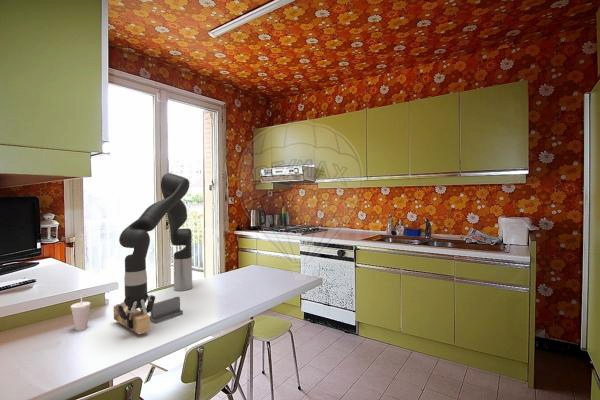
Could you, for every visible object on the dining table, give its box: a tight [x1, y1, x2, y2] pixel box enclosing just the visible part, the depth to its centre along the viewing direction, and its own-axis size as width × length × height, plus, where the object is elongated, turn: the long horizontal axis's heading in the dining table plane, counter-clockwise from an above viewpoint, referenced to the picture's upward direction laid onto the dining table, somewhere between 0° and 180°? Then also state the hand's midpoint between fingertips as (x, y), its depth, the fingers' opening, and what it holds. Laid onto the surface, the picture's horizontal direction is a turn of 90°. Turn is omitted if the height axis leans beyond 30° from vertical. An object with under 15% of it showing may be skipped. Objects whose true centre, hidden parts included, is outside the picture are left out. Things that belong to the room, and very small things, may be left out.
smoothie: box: [70, 293, 91, 332], centre depth 120 cm, size 6×6×14 cm
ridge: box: [149, 296, 184, 325], centre depth 130 cm, size 6×12×7 cm, turn 142°
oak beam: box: [113, 304, 151, 335], centre depth 119 cm, size 22×4×6 cm, turn 52°
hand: (137, 326), depth 116 cm, fingers closed on oak beam, 4 cm apart
